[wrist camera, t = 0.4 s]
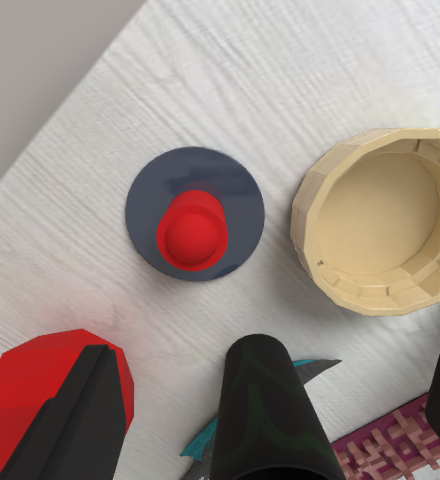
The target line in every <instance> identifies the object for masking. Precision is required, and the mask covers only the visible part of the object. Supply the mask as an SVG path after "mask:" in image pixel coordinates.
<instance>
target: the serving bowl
mask: <svg viewBox="0 0 440 480" xmlns="http://www.w3.org/2000/svg"><path fill="white" fill-rule="evenodd" d="M290 237H291V239H292V242H293V245H294V248H295V251H296V253H297V256H298V259H299V262H300V263H301V265H302V266H303V268H304V269H305V270H306V272H307V273H308V275H309V276H310V278H311V279H312V280H313V282H314V283H315V284H316V285H317V286H318V287H319V288H320V289H321V290H322V291H323V292H324V293H325V294H326V295H327V296H328V297H329V298H330V299H331V300H332V301H333V302H334V303H335V304H336V305H338V306H341V307H343V308H346V309H349V310H351V311H354V312H357V313H360V314H362V315H365V316H401V315H405V314H408V313H411V312H414V311H416V310H419V309H422V308H425V307H428V306H431V305H433V304H436V303H438V302H439V301H440V128H387V129H370V130H367V131H365V132H363V133H360V134H358V135H355V136H353V137H351V138H348V139H346V140H344V141H341V142H339V143H337V144H335V145H334V146H333V147H332V148H331V149H330V150H329V151H328V152H327V153H326V154H324V155H323V156H322V157H321V158H320V159H319V160H318V161H317V162H316V163H315V164H314V165H313V166H312V167H311V168H310V169H309V170H308V171H307V173H306V175H305V177H304V179H303V181H302V183H301V185H300V187H299V189H298V191H297V193H296V195H295V197H294V200H293V203H292V213H291V226H290Z"/></svg>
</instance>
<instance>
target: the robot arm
mask: <svg viewBox="0 0 440 480" xmlns="http://www.w3.org/2000/svg"><path fill="white" fill-rule="evenodd" d="M425 417H426V420H427V422H428V424H429V425H430V427H431V428H432V429H433V431H434V432H435V433H436V435H437V436H438V437H439V439H440V354H439V358H438V362H437V365H436V369H435V373H434V377H433V380H432V384H431V388H430V391H429V395H428V399H427V402H426V406H425ZM126 426H127V422H126V414H125V408H124V401H123V395H122V388H121V382H120V375H119V369H118V362H117V356H116V351H115V350H114V349H110V348H109V346H108V345H107V344H93V345H86V346H85V347H84V348H83V349H82V351H81V353H80V354H79V356H78V358H77V360H76V361H75V363H74V365H73V366H72V368H71V370H70V371H69V373H68V375H67V376H66V378H65V380H64V381H63V383H62V385H61V387H60V388H59V390H58V392H57V393H56V395H55V397H54V398H49V399H47V400H46V401H45V402H44V404H43V405H42V406H41V408H40V409H39V411H38V413H37V414H36V416H35V417H34V419H33V421H32V422H31V424H30V425H29V427H28V429H27V430H26V432H25V433H24V435H23V437H22V438H21V440H20V442H19V443H18V445H17V446H16V448H15V450H14V451H13V453H12V454H11V456H10V458H9V459H8V461H7V463H6V464H5V466H4V467H3V469H2V471H1V472H0V480H113V477H114V473H115V470H116V466H117V462H118V459H119V455H120V452H121V448H122V445H123V441H124V438H125V434H126Z"/></svg>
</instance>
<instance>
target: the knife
mask: <svg viewBox="0 0 440 480" xmlns="http://www.w3.org/2000/svg"><path fill="white" fill-rule="evenodd" d="M340 362H341V360H300V361H295V362H292V363H293V365H294V367H295V369H296V371H297V373H298V375H299V378H300V380H301V382H302V384H303V385H304V384H306V383H307V382H308V381H310V380H311V379H312V378H314V377H315V376H317V375H318V374H320V373H321V372H323V371H324V370H326V369H328V368H330V367H332V366H334V365H336V364H338V363H340ZM217 418H218V416H217V417H216V418H215V419H214V420H213V421H212V422H211V423H210V424H209V425H208V426H207V427H206V428H205V429H204V430H203V431H202V432H201V433H200V434H199V435H198V436H197V437H196V438H195V439H194V440H193V441H192V442H191V444H190V445H189V446H188V447H187V448H186V449H185V450H184V451H183V452H182V453H181V454H180V456H186V455H187V456H190V457H192V458H194V464H193V466H192V468H191V469H190V471H189V472H188V473H187V475H186V476H185V477H184V479H183V480H199V478H200V477H201V476H202V477H205V478H204V480H208V479H209V475H210V468H211V461H212V454H213V447H214V440H215V432H216V425H217Z"/></svg>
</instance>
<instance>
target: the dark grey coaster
mask: <svg viewBox="0 0 440 480" xmlns="http://www.w3.org/2000/svg"><path fill="white" fill-rule="evenodd" d="M190 190H199V191H204V192H207V193H209V194H211V195H212V196H214V197H215V198H216V199H217V200H218V201H219V203H220V204H221V206H222V208H223V211H224V215H225V221H226V227H227V233H228V243H227V248H226V250H225V252H224V254H223V256H222V257H221V259H220V260H219V261H218V262H217V263H215V264H214V265H213V266H211V267H209V268H207V269H204V270H200V271H185V270H181V269H179V268H176V267H174V266H173V265H171V264H170V263H168V262H167V261H166V260H165V259H164V257H163V256H162V255H161V253H160V251H159V249H158V246H157V241H156V232H157V228H158V225H159V223H160V221H161V219H162V217H163V215H164V214H165V212H166V210H167V208H168V207H169V205H170V203H171V202H172V201H173V199H174V198H175V197H177V196H178V195H179V194H181V193H183V192H186V191H190ZM264 219H265V214H264V204H263V199H262V195H261V192H260V190H259V188H258V185H257V183H256V182H255V180H254V179H253V177H252V176H251V174H250V173H249V172H248V171H247V170H246V168H245V167H243V166H242V165H241V164H240V163H239V162H238V161H236V160H235V159H234V158H232V157H231V156H229V155H227V154H225V153H223V152H220V151H218V150H215V149H211V148H206V147H197V146H191V147H182V148H177V149H173V150H171V151H168V152H165V153H163V154H161V155H160V156H158V157H156V158H155V159H153V160H152V161H151V162H149V163H148V164H147V165H146V166H145V167H144V168H143V169H142V170H141V171H140V173H139V174H138V175H137V177H136V178H135V180H134V182H133V183H132V186H131V188H130V191H129V193H128V197H127V201H126V223H127V228H128V232H129V235H130V238H131V240H132V242H133V244H134V246H135V247H136V249H137V250H138V252H139V253H140V254H141V256H142V257H143V258H144V259H145V260H146V261H147V262H148V263H149V264H150V265H152V266H153V267H154V268H156V269H157V270H159V271H160V272H162V273H164V274H166V275H169V276H171V277H174V278H177V279H181V280H187V281H206V280H211V279H216V278H219V277H222V276H224V275H226V274H228V273H230V272H232V271H234V270H235V269H237V268H238V267H239V266H241V265H242V264H243V263H244V262H245V261H246V260H247V259H248V258H249V257H250V255H251V254H252V253H253V251H254V250H255V248H256V246H257V245H258V243H259V240H260V238H261V235H262V231H263V227H264Z"/></svg>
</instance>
